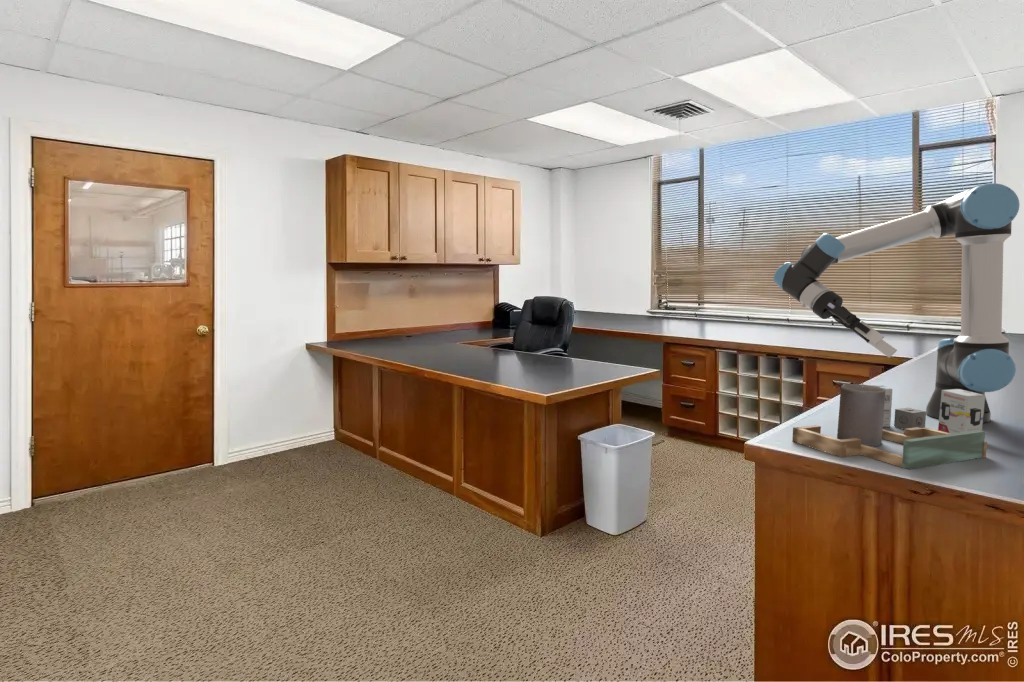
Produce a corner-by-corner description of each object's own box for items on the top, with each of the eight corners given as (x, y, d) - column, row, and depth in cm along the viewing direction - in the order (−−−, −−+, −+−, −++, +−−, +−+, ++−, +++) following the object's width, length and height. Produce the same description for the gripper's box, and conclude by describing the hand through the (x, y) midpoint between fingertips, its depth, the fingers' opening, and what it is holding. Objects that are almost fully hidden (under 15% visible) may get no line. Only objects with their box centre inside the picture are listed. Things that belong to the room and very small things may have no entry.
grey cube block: (894, 427, 163) (895, 409, 163) (906, 425, 165) (907, 407, 165) (911, 431, 159) (913, 412, 158) (924, 429, 160) (926, 411, 160)
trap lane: (792, 441, 148) (793, 417, 148) (881, 430, 159) (883, 408, 159) (888, 472, 125) (890, 444, 124) (985, 457, 136) (988, 431, 135)
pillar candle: (829, 436, 153) (833, 378, 152) (868, 436, 153) (872, 378, 151) (849, 447, 144) (853, 386, 142) (890, 447, 143) (895, 386, 142)
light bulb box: (878, 421, 169) (881, 384, 168) (891, 427, 163) (894, 388, 161) (839, 420, 170) (841, 383, 169) (850, 426, 164) (852, 387, 162)
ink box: (936, 433, 157) (940, 388, 156) (953, 432, 157) (957, 388, 156) (963, 441, 148) (967, 395, 147) (982, 441, 149) (986, 394, 147)
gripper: (825, 323, 177) (887, 369, 163) (796, 297, 160) (862, 346, 146) (844, 304, 175) (908, 348, 161) (817, 275, 157) (886, 322, 143)
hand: (886, 347), depth 153 cm, fingers open, 13 cm apart
